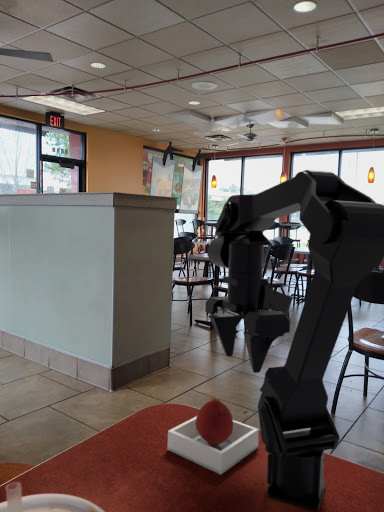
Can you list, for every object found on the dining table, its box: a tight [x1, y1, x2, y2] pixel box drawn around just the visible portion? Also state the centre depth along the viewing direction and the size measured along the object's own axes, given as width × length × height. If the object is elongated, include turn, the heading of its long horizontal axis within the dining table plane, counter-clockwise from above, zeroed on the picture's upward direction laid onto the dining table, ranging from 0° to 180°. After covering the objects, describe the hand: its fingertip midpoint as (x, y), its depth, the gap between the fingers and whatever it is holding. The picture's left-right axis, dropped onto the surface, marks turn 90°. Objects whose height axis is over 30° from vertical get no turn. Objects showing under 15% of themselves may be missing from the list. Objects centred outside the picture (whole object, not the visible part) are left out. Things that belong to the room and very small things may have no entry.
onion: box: [196, 395, 234, 447], centre depth 66 cm, size 6×6×8 cm
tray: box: [166, 415, 260, 476], centre depth 66 cm, size 10×10×3 cm
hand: (242, 363), depth 71 cm, fingers open, 9 cm apart
